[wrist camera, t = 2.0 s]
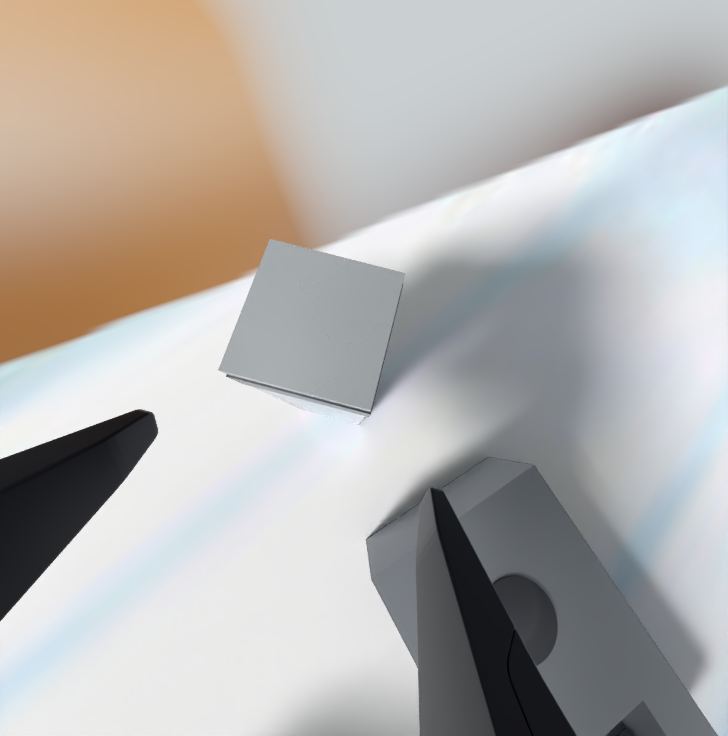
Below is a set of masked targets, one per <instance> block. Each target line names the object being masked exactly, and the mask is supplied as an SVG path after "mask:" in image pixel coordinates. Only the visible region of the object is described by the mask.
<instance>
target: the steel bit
mask: <svg viewBox="0 0 728 736" xmlns="http://www.w3.org/2000/svg"><path fill="white" fill-rule="evenodd" d="M404 276H405V273H402V272H398V271H394V270H390V269H386V268H382V267H378V266H374V265H370V264H366V263H363V262H359V261H355V260H351V259H347V258H343V257H339V256H335V255H331V254H327V253H323V252H320V251H316V250H312V249H308V248H304V247H300V246H296V245H292V244H288V243H284V242H280V241H277V240H273V239H270V240H269V243H268V245H267V248H266V250H265V253H264V255H263V258H262V260H261V263H260V265H259V268H258V270H257V273H256V276H255V278H254V281H253V283H252V286H251V288H250V291H249V293H248V296H247V298H246V301H245V304H244V306H243V309H242V311H241V314H240V316H239V319H238V321H237V324H236V326H235V329H234V331H233V334H232V337H231V339H230V342H229V344H228V347H227V349H226V352H225V354H224V357H223V359H222V362H221V365H220V367H219V371H221V372H223V373H225V374H227V375H226V377H229V378H231V379H233V380H235V381H238V382H240V383H242V384H245V385H249V386H253V387H255V388H257V389H259V390H261V391H263V392H266V393H268V394H270V395H272V396H274V397H276V398H278V399H280V400H283V401H285V402H287V403H289V404H291V405H293V406H295V407H297V408H300V409H302V410H304V411H308V412H311V413H315V414H319V415H323V416H326V417H330V418H334V419H338V420H342V421H345V422H349V423H353V424H357V425H359V424H360V422H361V421H362V420H363V419H364V418H365V417H369V416H370V415H371V411H372V407H373V403H374V399H375V395H376V391H377V387H378V383H379V379H380V375H381V371H382V367H383V363H384V359H385V355H386V351H387V347H388V343H389V339H390V335H391V331H392V327H393V323H394V319H395V315H396V311H397V307H398V303H399V299H400V295H401V291H402V287H403V280H404Z"/></svg>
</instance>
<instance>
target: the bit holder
mask: <svg viewBox="0 0 728 736" xmlns="http://www.w3.org/2000/svg"><path fill="white" fill-rule="evenodd" d="M441 490H443V491H444V493H445V495H446V497H447V498H448V500H449V502H450V504H451V506H452V508H453V510H454V512H455V514H456V516H457V517H458V519H459V521H460V523H461V525H462V527H463V529H464V531H465V533H466V535H467V536H468V538H469V540H470V542H471V544H472V546H473V548H474V550H475V552H476V553H477V555H478V557H479V559H480V561H481V563H482V565H483V567H484V569H485V571H486V572H487V574H488V576H489V578H490V580H491V582H492V584H493V586H494V588H495V590H496V591H497V593H498V595H499V597H500V599H501V601H502V603H503V605H504V607H505V608H506V610H507V612H508V614H509V616H510V618H511V620H512V622H513V624H514V626H515V628H514V629H516V630H517V631H518V633H519V635H520V637H521V639H522V640H523V642H524V644H525V646H526V648H527V650H528V652H529V654H530V655H531V657H532V659H533V661H534V663H535V665H536V666H537V668H538V670H539V672H540V674H541V675H542V677H543V679H544V681H545V683H546V684H547V686H548V688H549V689H550V691H551V693H552V694H553V696H554V698H555V700H556V701H557V703H558V705H559V706H560V708H561V710H562V711H563V713H564V715H565V716H566V718H567V720H568V721H569V723H570V725H571V726H572V728H573V730H574V731H575V733H576V735H577V736H606V735H607V734H608V733H609V732H610V731H611V730H612V729H613V728H614V727H615V726H616V725H617V724H618V723H619V722H621V721H622V722H623V724H624V726H625V727H626V729H625V730H623V731H622V732H621V733H620V734H619V735H618V736H718V735H717V734H716V732H715V731H714V729H713V728H712V726H711V725H710V723H709V722H708V721H707V719H706V718H705V716H704V715H703V713H702V712H701V710H700V709H699V707H698V706H697V704H696V703H695V701H694V700H693V698H692V697H691V696H690V694H689V693H688V691H687V690H686V688H685V687H684V685H683V684H682V682H681V681H680V679H679V678H678V676H677V675H676V673H675V672H674V670H673V669H672V668H671V666H670V665H669V663H668V662H667V660H666V659H665V657H664V656H663V654H662V653H661V651H660V650H659V648H658V647H657V645H656V644H655V642H654V641H653V640H652V638H651V637H650V635H649V634H648V632H647V631H646V629H645V628H644V626H643V625H642V623H641V622H640V620H639V619H638V617H637V616H636V614H635V613H634V612H633V610H632V609H631V607H630V606H629V604H628V603H627V601H626V600H625V598H624V597H623V595H622V594H621V592H620V591H619V589H618V588H617V586H616V585H615V584H614V582H613V581H612V579H611V578H610V576H609V575H608V573H607V572H606V570H605V569H604V567H603V566H602V564H601V563H600V561H599V560H598V558H597V557H596V556H595V554H594V553H593V551H592V550H591V548H590V547H589V545H588V544H587V542H586V541H585V539H584V538H583V536H582V535H581V533H580V532H579V530H578V529H577V528H576V526H575V525H574V523H573V522H572V520H571V519H570V517H569V516H568V514H567V513H566V511H565V510H564V508H563V507H562V505H561V504H560V503H559V501H558V500H557V498H556V497H555V495H554V494H553V492H552V491H551V489H550V488H549V486H548V485H547V483H546V482H545V480H544V479H543V477H542V476H541V475H540V473H539V472H538V470H537V469H536V467H535V466H534V465H532V464H526V463H520V462H514V461H509V460H503V459H497V458H492V457H488V458H486V459H485V460H483V461H482V462H480V463H479V464H477V465H476V466H474V467H473V468H471V469H470V470H468V471H467V472H465V473H464V474H462V475H461V476H460V477H458V478H457V479H455V480H454V481H452V482H451V483H449V484H448V485H446V486H445V487H443V488H442V489H441ZM419 509H420V503H419V504H418V505H417V506H415V507H414V508H412V509H411V510H409V511H408V512H406V513H405V514H403V515H402V516H400V517H399V518H397V519H396V520H394V521H393V522H391V523H390V524H388V525H387V526H385V527H384V528H382V529H381V530H379V531H378V532H377V533H375V534H374V535H372V536H371V537H369V538H368V539H366V544H367V551H368V559H369V566H370V573H371V580H372V581H373V583H374V585H375V587H376V589H377V591H378V593H379V595H380V597H381V599H382V601H383V602H384V604H385V606H386V608H387V610H388V612H389V614H390V616H391V618H392V620H393V622H394V623H395V625H396V627H397V629H398V631H399V633H400V635H401V637H402V639H403V641H404V643H405V644H406V646H407V648H408V650H409V652H410V654H411V656H412V658H413V660H414V662H415V663H416V665H417V667H418V641H417V601H416V547H417V534H418V521H419Z"/></svg>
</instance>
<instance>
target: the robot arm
mask: <svg viewBox="0 0 728 736" xmlns="http://www.w3.org/2000/svg"><path fill="white" fill-rule="evenodd" d="M157 434H158V427H157V424H156V420H155V416H154V414H153V413H152V412H149V411H146V410H141V409H138V410H134V411H131V412H129V413H126V414H123V415H120V416H118V417H115V418H112V419H109V420H107V421H104V422H101V423H99V424H96V425H93V426H90V427H88V428H85V429H82V430H79V431H77V432H74V433H71V434H68V435H66V436H63V437H60V438H57V439H55V440H52V441H49V442H46V443H44V444H41V445H38V446H35V447H33V448H30V449H27V450H24V451H22V452H19V453H16V454H13V455H11V456H8V457H5V458H2V459H0V621H1V620H2V619H3V618H4V617H5V616H6V614H7V613H8V612H9V611H10V610H11V609H12V608H13V606H14V605H15V604H16V603H17V602H18V601H19V600H20V599H21V597H22V596H23V595H24V594H25V593H26V592H27V591H28V589H29V588H30V587H31V586H32V585H33V584H34V583H35V581H36V580H37V579H38V578H39V577H40V576H41V575H42V574H43V572H44V571H45V570H46V569H47V568H48V567H49V566H50V564H51V563H52V562H53V561H54V560H55V559H56V558H57V557H58V555H59V554H60V553H61V552H62V551H63V550H64V549H65V547H66V546H67V545H68V544H69V543H70V542H71V541H72V540H73V538H74V537H75V536H76V535H77V534H78V533H79V532H80V530H81V529H82V528H83V527H84V526H85V525H86V524H87V522H88V521H89V520H90V519H91V518H92V517H93V516H94V515H95V513H96V512H97V511H98V510H99V509H100V508H101V507H102V505H103V504H104V503H105V502H106V501H107V500H108V499H109V498H110V496H111V495H112V494H113V493H114V492H115V491H116V490H117V488H118V487H119V486H120V485H121V484H122V483H123V481H124V480H125V479H126V478H127V476H128V475H129V474H130V472H131V471H132V470H133V468H134V467H135V465H136V464H137V463H138V461H139V460H140V459H141V457H142V456H143V455H144V453H145V452H146V450H147V449H148V448H149V446H150V445H151V444H152V442H153V441H154V439H155V438H156V436H157ZM416 601H417V641H418V680H419V720H420V736H577V735H576V733H575V731H574V730H573V728H572V726H571V725H570V723H569V721H568V720H567V718H566V716H565V715H564V713H563V711H562V710H561V708H560V706H559V705H558V703H557V701H556V700H555V698H554V696H553V694H552V693H551V691H550V689H549V688H548V686H547V684H546V683H545V681H544V679H543V677H542V675H541V674H540V672H539V670H538V668H537V666H536V665H535V663H534V661H533V659H532V657H531V655H530V654H529V652H528V650H527V648H526V646H525V644H524V642H523V640H522V639H521V637H520V635H519V633H518V631H517V630H516V629H514V628H515V626H514V624H513V622H512V620H511V618H510V616H509V614H508V612H507V610H506V608H505V607H504V605H503V603H502V601H501V599H500V597H499V595H498V593H497V591H496V590H495V588H494V586H493V584H492V582H491V580H490V578H489V576H488V574H487V572H486V571H485V569H484V567H483V565H482V563H481V561H480V559H479V557H478V555H477V553H476V552H475V550H474V548H473V546H472V544H471V542H470V540H469V538H468V536H467V535H466V533H465V531H464V529H463V527H462V525H461V523H460V521H459V519H458V517H457V516H456V514H455V512H454V510H453V508H452V506H451V504H450V502H449V500H448V498H447V497H446V495H445V493H444V491H443V490H441V489H438V488H435V487H429V488H428V490H427V491H426V493H425V495H424V497H423V499H422V501H421V503H420V509H419V521H418V534H417V547H416Z"/></svg>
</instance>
